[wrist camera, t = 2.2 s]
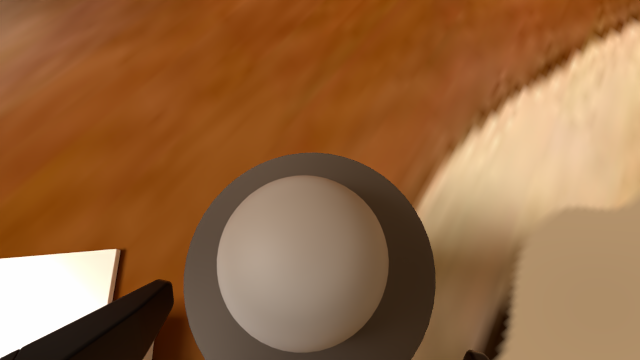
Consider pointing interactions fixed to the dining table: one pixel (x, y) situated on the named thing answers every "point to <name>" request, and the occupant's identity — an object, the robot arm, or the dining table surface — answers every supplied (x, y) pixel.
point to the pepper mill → (309, 266)
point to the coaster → (52, 293)
